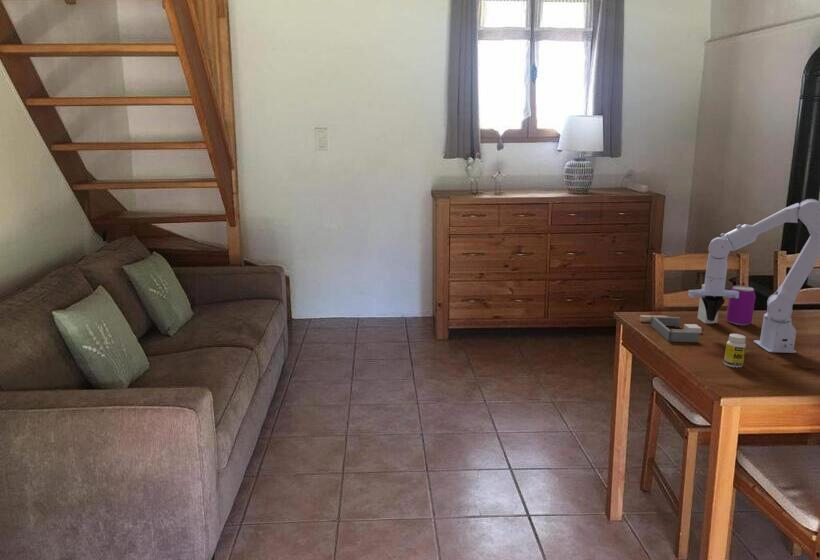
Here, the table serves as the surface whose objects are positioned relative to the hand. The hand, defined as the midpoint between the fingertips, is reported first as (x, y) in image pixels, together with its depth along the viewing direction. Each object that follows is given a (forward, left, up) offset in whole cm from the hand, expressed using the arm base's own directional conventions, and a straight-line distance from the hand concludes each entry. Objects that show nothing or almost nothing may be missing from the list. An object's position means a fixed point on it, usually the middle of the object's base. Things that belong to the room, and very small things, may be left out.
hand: (710, 319), depth 199 cm
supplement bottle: (-24, +3, -6) cm, 25 cm away
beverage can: (+16, -17, -6) cm, 24 cm away
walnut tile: (0, +9, -6) cm, 11 cm away
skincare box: (+17, -7, -6) cm, 19 cm away
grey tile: (+6, +3, -6) cm, 9 cm away
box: (+3, +10, -6) cm, 11 cm away
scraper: (+15, +10, -6) cm, 19 cm away
